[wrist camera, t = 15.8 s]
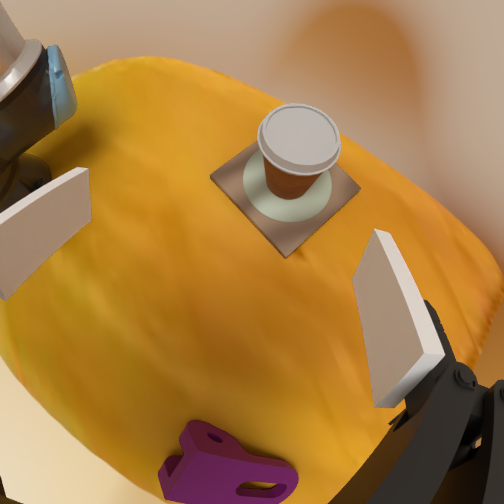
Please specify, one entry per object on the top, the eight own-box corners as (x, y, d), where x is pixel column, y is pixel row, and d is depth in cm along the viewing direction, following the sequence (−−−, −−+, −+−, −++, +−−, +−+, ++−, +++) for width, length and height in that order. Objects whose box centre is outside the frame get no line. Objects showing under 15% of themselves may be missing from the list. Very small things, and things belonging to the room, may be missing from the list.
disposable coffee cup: (276, 222, 40) (288, 183, 28) (242, 167, 41) (242, 116, 30) (332, 193, 41) (360, 150, 29) (297, 143, 42) (312, 91, 31)
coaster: (210, 178, 42) (209, 174, 41) (287, 124, 45) (288, 119, 44) (285, 258, 40) (286, 256, 39) (358, 191, 43) (361, 187, 41)
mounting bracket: (281, 442, 40) (181, 413, 33) (309, 469, 32) (197, 450, 26) (252, 481, 38) (153, 460, 31) (276, 511, 30) (164, 499, 24)
